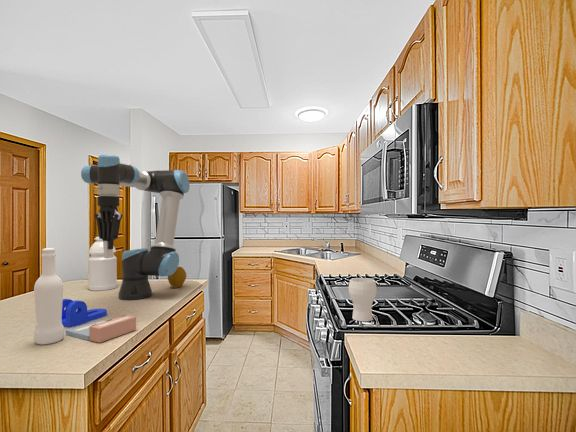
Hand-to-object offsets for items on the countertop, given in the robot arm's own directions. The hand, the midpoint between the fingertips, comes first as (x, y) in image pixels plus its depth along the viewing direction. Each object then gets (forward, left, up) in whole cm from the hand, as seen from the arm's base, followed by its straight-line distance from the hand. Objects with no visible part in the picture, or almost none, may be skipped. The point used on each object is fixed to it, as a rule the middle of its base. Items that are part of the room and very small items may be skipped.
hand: (108, 257), depth 137 cm
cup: (-46, +86, -24) cm, 100 cm away
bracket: (+3, -10, -25) cm, 27 cm away
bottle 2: (-37, -54, -24) cm, 70 cm away
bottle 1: (+23, +2, -24) cm, 33 cm away
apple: (-57, -20, -24) cm, 65 cm away
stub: (+10, +16, -24) cm, 30 cm away
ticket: (+10, +7, -24) cm, 27 cm away
